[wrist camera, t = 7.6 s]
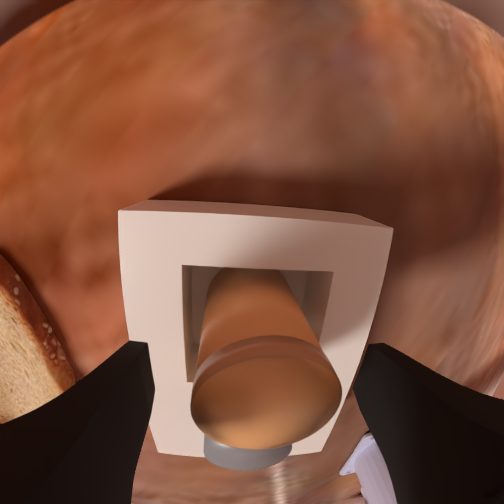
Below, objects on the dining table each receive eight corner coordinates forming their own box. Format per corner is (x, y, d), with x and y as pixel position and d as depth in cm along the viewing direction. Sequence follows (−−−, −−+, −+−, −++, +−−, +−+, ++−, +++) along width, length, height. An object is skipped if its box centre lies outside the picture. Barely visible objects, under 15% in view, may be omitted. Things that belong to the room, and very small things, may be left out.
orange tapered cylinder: (296, 260, 13) (360, 349, 6) (285, 335, 14) (322, 443, 7) (206, 256, 12) (185, 351, 6) (205, 333, 13) (195, 448, 7)
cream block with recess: (355, 213, 13) (425, 241, 8) (308, 414, 17) (328, 475, 11) (146, 199, 12) (91, 221, 7) (165, 413, 16) (154, 477, 10)
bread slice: (-9, 221, 11) (-47, 235, 8) (160, 415, 16) (153, 455, 13) (-48, 331, 13) (-66, 348, 9) (63, 450, 18) (54, 473, 14)
